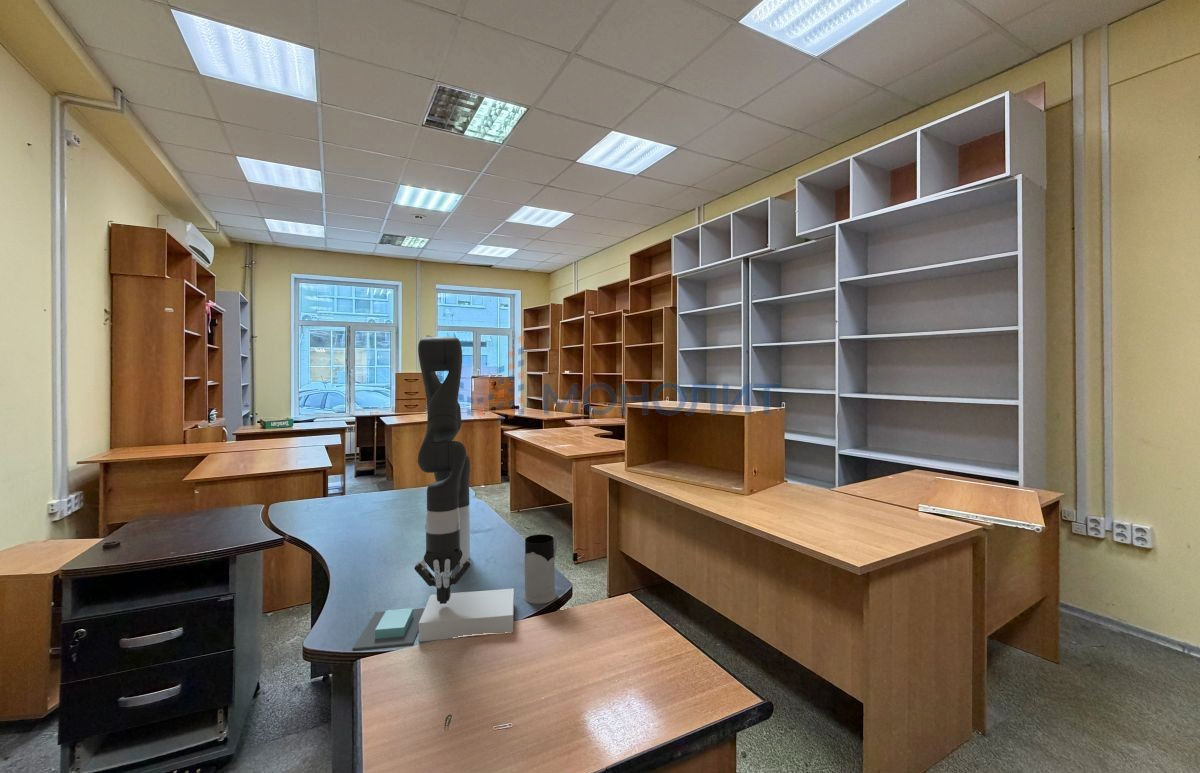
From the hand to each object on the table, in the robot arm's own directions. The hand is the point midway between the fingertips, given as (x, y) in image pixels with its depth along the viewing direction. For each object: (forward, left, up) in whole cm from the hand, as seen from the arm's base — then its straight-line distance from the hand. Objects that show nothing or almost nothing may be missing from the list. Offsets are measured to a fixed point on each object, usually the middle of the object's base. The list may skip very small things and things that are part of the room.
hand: (443, 602), depth 109 cm
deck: (0, +6, -5) cm, 8 cm away
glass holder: (-13, +24, -5) cm, 28 cm away
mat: (0, -11, -5) cm, 12 cm away
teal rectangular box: (0, -11, -3) cm, 11 cm away
